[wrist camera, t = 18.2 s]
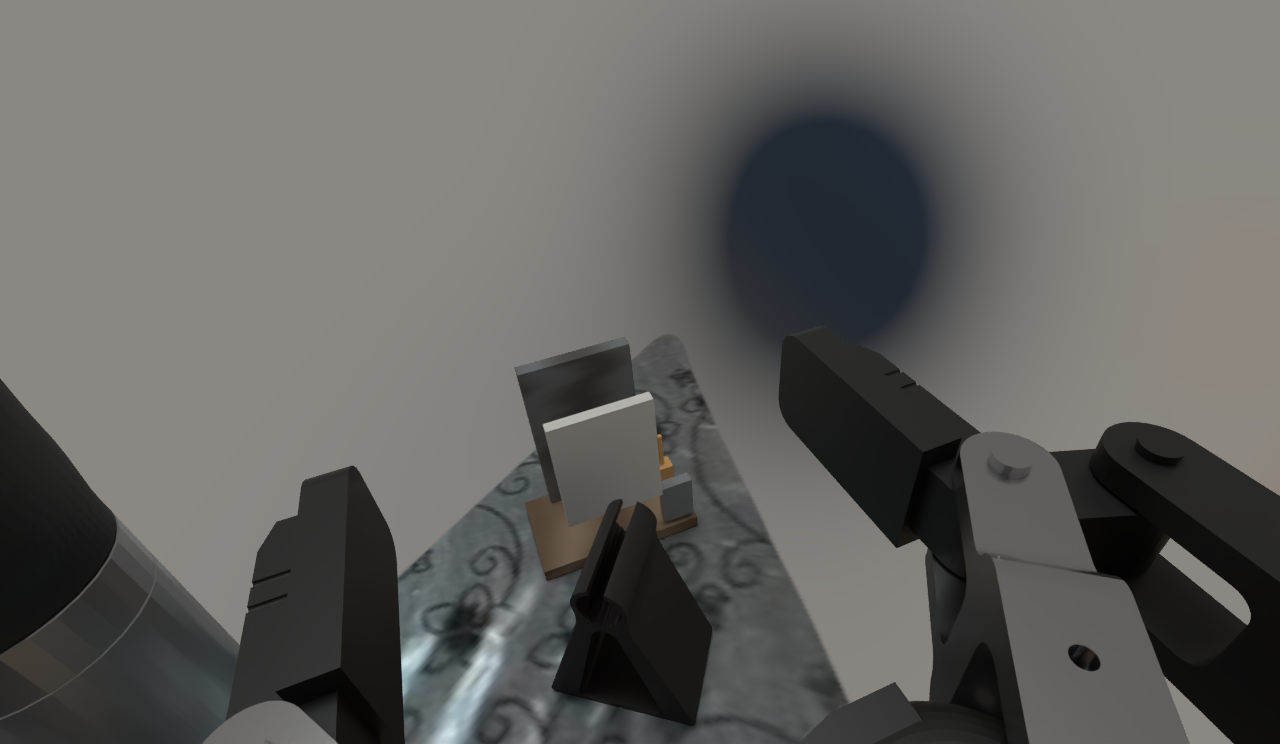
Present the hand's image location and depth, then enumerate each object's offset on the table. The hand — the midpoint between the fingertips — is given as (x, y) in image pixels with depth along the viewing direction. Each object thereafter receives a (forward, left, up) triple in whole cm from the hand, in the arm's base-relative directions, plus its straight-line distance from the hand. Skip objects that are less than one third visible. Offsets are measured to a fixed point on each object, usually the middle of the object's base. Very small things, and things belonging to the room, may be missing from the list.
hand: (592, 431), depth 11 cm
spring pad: (+5, +20, -29) cm, 35 cm away
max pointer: (+9, +23, -29) cm, 38 cm away
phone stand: (+2, +11, -30) cm, 32 cm away
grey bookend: (+4, +23, -30) cm, 38 cm away
